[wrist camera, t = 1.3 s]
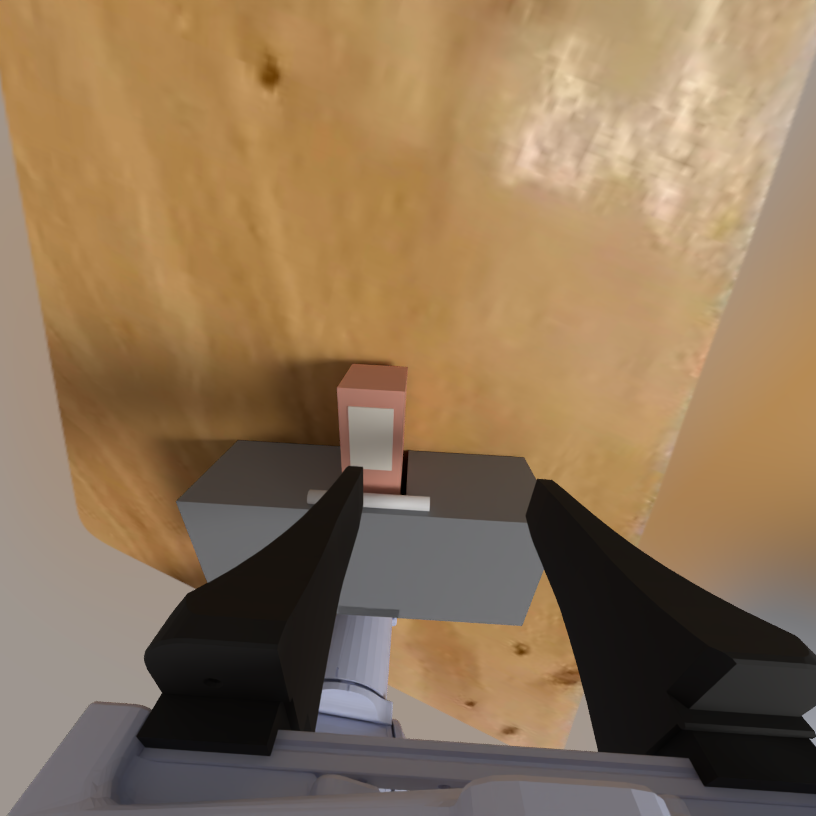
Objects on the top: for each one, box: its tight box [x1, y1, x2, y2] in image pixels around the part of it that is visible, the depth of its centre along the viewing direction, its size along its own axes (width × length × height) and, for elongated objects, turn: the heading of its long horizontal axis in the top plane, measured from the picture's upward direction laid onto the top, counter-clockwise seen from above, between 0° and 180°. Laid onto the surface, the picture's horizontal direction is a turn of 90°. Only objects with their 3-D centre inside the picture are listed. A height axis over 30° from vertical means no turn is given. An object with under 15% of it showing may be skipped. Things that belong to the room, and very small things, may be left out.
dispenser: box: [176, 440, 544, 626], centre depth 22 cm, size 11×22×6 cm, turn 87°
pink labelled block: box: [337, 364, 408, 495], centre depth 20 cm, size 12×4×4 cm, turn 177°
